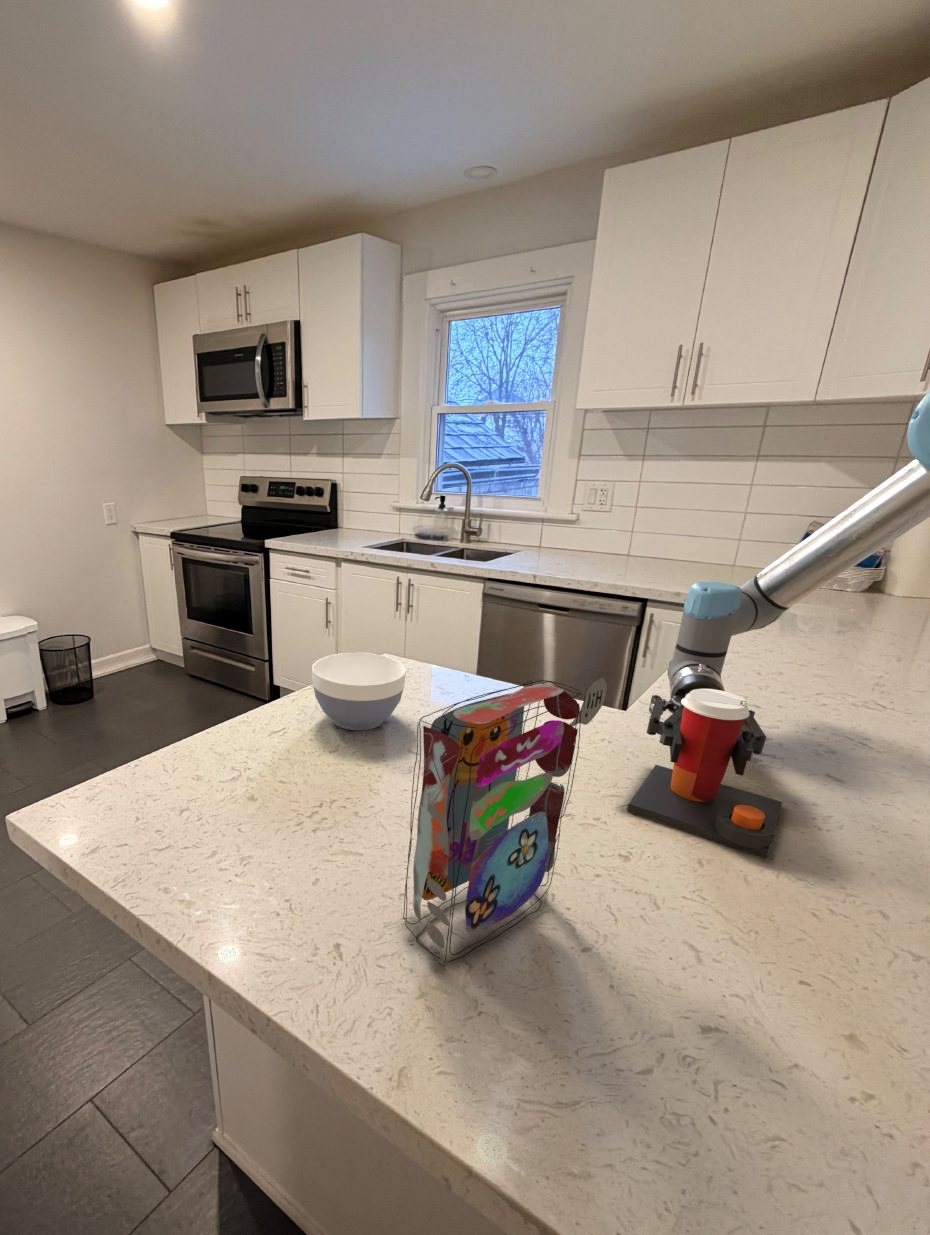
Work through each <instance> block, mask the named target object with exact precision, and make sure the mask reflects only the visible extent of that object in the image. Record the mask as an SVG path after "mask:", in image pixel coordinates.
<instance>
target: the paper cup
mask: <svg viewBox="0 0 930 1235" xmlns="http://www.w3.org/2000/svg"><path fill="white" fill-rule="evenodd" d="M681 703H682V704H683V705H684V710H683V715H682V721H681V727H680V731H681V741H682V746H681V750H680V754H679V758H678V762H677V763H674V762H673V767H672V769H673V772H672V779H671V789H672V790H673V791H674V792H675V793H676V794H677V795H679V796H681V797H683V798H686V799H689V800H693V801H698V802H708V801H712V800H714V799H715V797H716V795H717V793H718V790H719V788H720V785H721V784H722V782H723V780H724V777H725V775H726V772H727V768H728V766H729V764H730V761H731V759H732V757H731V756H732V753H733V750H734V747H735V745H736V742H737V739H738V736H739V734H740V731H741V728H742V726H743V723H744V720H745V718H747V717H748V716H749V715H750V713H749V710H750V709H749V708H748V707H749V706H748V702H747V700H746V699H745V698H743V697H741V696H739V695H737V694H735V693H733V692H730V691H729V692H728V691H726V690H725V691H721V690H715V689H696V690H692V691H690V693H688V694H686V696H685V698H683V699H682V700H681Z"/></svg>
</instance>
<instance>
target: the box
mask: <svg viewBox="0 0 930 1235" xmlns="http://www.w3.org/2000/svg"><path fill="white" fill-rule="evenodd" d="M540 682H542V683H540ZM535 683H536V684H535ZM546 683H550V684H553V685H555V686H553V685H550V684H546ZM526 685H529V686H526ZM561 685H562V686H561ZM522 686H523V687H522ZM563 686H565V687H567V688H565V687H563ZM520 687H522V688H520ZM516 688H520V689H519V690H516V691H514V692H511V693H505V694H502V695H498V696H494V697H490V698H486V699H482V698H485V697H488V696H490V695H492V694H497V693H501V692H504V691H508V690H511V689H512V690H513V689H516ZM568 688H570V689H572V690H570V689H568ZM607 688H608V686H607V681H606V680H605V678H604V677H601V678H598V679H596V680H595V681H594V682H592V684H591V685H590V687H589V688H588V690H587V691H586V694H584V699H583V702H582V705H581V706H580V703H578V701H577V700H576V699H575V698H577V697H578V696H579V695H580V696H583V694H582V690H580V689H578V688H575V687H572V686H569V685H567V684H564V683H561V682H556V681H552V680H547V679H546V680H545V679H541V680H536V681H533V680H532V679H531V680H528V681H527V682H525V683H522V684H520V685H517V686H512V687H508V688H504V689H500V690H495V691H491V692H487V693H483V694H480V695H476V696H472V697H470V698H467V699H465V700H462V701H458V702H456V703H454V704H451V705H448V706H446V707H445V708H444V707H443V708H442V709H441V708H440V709H439V710H436V711H433V712H430V713H429V714H427V715H423V716H422V717H420V718H419V719H417V720H418V724H417V727H416V730H417V731H416V754H415V762H414V767H413V775H412V785H411V786H412V787H411V798H410V800H411V802H410V819H411V820H410V824H409V825H410V828H409V830H410V839H409V845H408V856H407V868H406V876H405V877H406V878H405V886H404V896H405V897H404V900H403V913H402V914H403V916H402V919H403V920H404V921H405V922H404V923H405V924H404V925H405V926H404V927H406V928H407V929H408V931H409V932H410V933H411V934H412V935H413V936H414V938H415V941H416V942H417V943H418V944H419V945H420V946H421V947H422V948H424V949H425V950H426V951H427V952H429V953H430V955H431V956H432V957H433V959H434V961H436V962H437V963H438V965H440V966H441V967H442V968H445V967H446V962H448V963H450V962H454V961H456V960H458V959H461V958H463V957H465V956H467V955H468V954H470V953H471V952H473V950H475V949H477V948H478V947H480V946H482V945H485V944H487V943H489V942H491V941H493V940H495V939H497V938H498V937H499V936H501V935H502V934H503V933H504V932H506V931H507V930H509V929H511V928H514V927H515V926H516V925H518V924H519V923H521V922H522V921H523V920H524V919H526V918H527V917H529V915H532V914H534V913H536V912H538V911H539V909H540V908H541V906H542V901H541V900H542V898H543V897H544V896H545V894H546V893H547V892H548V890H549V889H550V886H551V884H552V882H553V876H554V872H555V871H554V870H555V865H556V861H557V857H558V851H559V843H560V837H561V835H560V834H561V826H562V825H561V824H562V818H563V817H564V815H565V812H566V809H567V806H568V803H569V800H570V796H571V794H572V789H573V784H574V783H573V782H574V779H575V778H574V777H575V772H576V766H577V762H578V756H579V751H580V750H579V749H580V740H581V739H580V738H581V724H582V725H585V726H586V725H588V724H590V723H591V722H592V721H593V719H594V718H595V717H596V716H597V714H598V713H599V711H600V710H601V708H602V706H603V704H604V702H605V700H606V696H607V690H608V689H607ZM565 690H566V691H568V692H570V693H573V694H576V695H574V696H571V694H569V693H568V692H566V691H565ZM573 690H575V691H576V692H575V691H573ZM477 699H478V701H474V700H477ZM479 699H482V700H479ZM471 701H473V702H471ZM541 701H543V705H540V703H541ZM465 702H470V703H467V704H465V705H462V706H459V707H456V706H458V705H459V704H463V703H465ZM537 702H538V703H537ZM535 703H537V704H538V706H536V707H531V705H532V704H535ZM525 706H528V708H527V709H526V710H525ZM455 707H456V708H455ZM544 707H545V709H546V711H544V712H541V713H539V708H544ZM453 708H454V709H453ZM446 709H447V710H446ZM451 709H452V710H451ZM535 709H536V710H537V711H536V715H534V716H532V717H530V718H528V715H529V711H531V710H535ZM444 710H446V711H444ZM441 711H444V712H443V713H442V715H439V716H438V717H437V718H435V719H434V720H433V722H432V723H430V722H427V721H424V720H422V719H423V718H425V717H429V716H431V715H433V714H435V713H439V712H441ZM525 713H526V715H525ZM546 713H549V714H550V715H552V716H553V717H555V718H558V719H560V720H555V719H554V720H553V719H552V720H548V721H546V722H545V721H544V723H543V724H541V725H540V726H536V725H537V720H538V717H539V716H542V715H543V714H546ZM524 715H525V719H524ZM534 718H535V721H534V722H535V723H534V727H533V728H532V729H530V730H527V731H525V725H526V722H528V721H530V720H531V719H534ZM562 720H568V721H569V720H572V722H570V723H567V722H565V721H562ZM421 722H423V723H424V724H427V725H429V726H430V727H428V726H427V725H422V728H421ZM577 725H579V726H578V727H577ZM421 729H423V730H421ZM422 732H423V736H422ZM577 736H578V744H577ZM422 737H423V774H422V785H421V786H422V788H421V792H420V794H421V795H420V800H419V807H418V812H417V813H418V814H417V829H416V830H417V833H416V844H415V850H414V856H413V870H412V871H413V897H412V908H413V912H414V916H416V918H417V919H418V921H416V922H415V923H413V922H409V921H408V920H407V918H408V874H409V864H410V858H411V850H412V842H413V841H412V838H413V837H412V834H413V826H414V817H415V816H414V815H415V808H416V803H417V796H418V789H419V781H420V780H419V779H420V770H421V760H422V744H421V743H422V742H421V740H422V739H421V738H422ZM576 745H577V751H576V757H575V763H574V769H573V775H572V778H571V784H570V777H571V771H572V766H573V760H574V755H575V748H576ZM418 750H419V751H418ZM418 752H419V764H418V774H417V783H416V792H415V797H414V785H415V784H414V783H415V771H416V767H417V762H418ZM533 761H535V763H536V764H537V766H538V767H539V768H540V769H541V770H542V771H543V772H542V773H540V774H537V775H534V776H532V777H529V778H528V774H529V770H530V766H531V762H533ZM526 764H528V768H527V772H526V775H525V776H526V777H525V779H524V780H523V779H522V780H521V779H520V780H519V775H520V769H521V767H523V766H524V765H526ZM568 771H569V773H568ZM567 773H568V780H567V786H566V792H565V786H564V785H563V784H560V783H559V784H557V783H555V782H553V777H555V778H560V777H564V776H565V775H566V774H567ZM569 784H570V790H569ZM568 790H569V791H570V792H569V794H568ZM567 795H568V798H567ZM413 797H414V798H415V799H414V798H413ZM566 798H567V800H566ZM413 799H414V805H413ZM528 809H529V814H527V815H525V816H524V819H523V820H520V821H519V822H517V823H516V824H514V825H513V822H514V815H516V814H519V813H523V812H524V811H526V810H528ZM510 817H511V818H512V819H511V825H510V828H509V824H510ZM557 833H558V834H557ZM556 843H557V845H556ZM555 850H556V851H555ZM551 870H552V873H551V878H549V874H550V871H551ZM546 873H547V881H546V883H544V884H543V885H541V884H542V882H543V880H544V876H545V875H546ZM549 879H550V882H549ZM466 883H468V886H466V887H464V888H462V889H461V890H460V891H459V892H457V888H458V887H460V886H461V885H464V884H466ZM548 883H549V885H548V887H547V889H546V890H545V892H544V893H543V894H542V895H541V896H540V898H539V896H537V895H536V893H537V891H538V890H539V887H544V886H546V885H547V884H548ZM466 889H467V891H466V892H467V893H466V899H465V900H463V901H460V902H456V897H457V896H458V895H460V894H461V893H462V892H463V891H464V890H466ZM450 891H452V892H451V898H450V899H448V900H447V894H446V893H448V892H450ZM533 896H535V897H536V899H537V900H536V901H535V902H533V904H532V905H530V906H529V907H528V908H526V909H525V910H524V911H523V912H522V913H520V914H519V915H518V916H516V917H514V918H513V919H511V920H509V921H508V922H506V923H505V924H503V925H500V926H499V927H498V928H496V929H495V930H493V931H491V932H490V933H489V934H487V935H486V936H484V937H483V938H481V939H480V940H478V941H476V942H473V943H472V944H470V945H468V946H466V947H465V948H463V949H462V950H460V951H458V952H456V953H452V952H451V943H452V932H453V920H454V911H455V906H457V905H459V904H461V903H462V904H463V903H464V902H465V909H464V910H465V911H464V912H465V913H464V914H465V915H464V916H465V932H466V933H467V935H472V934H476V933H479V932H482V931H486V930H488V929H490V928H492V927H494V926H495V925H497V924H499V923H500V922H502V921H504V920H506V919H507V918H509V917H511V916H513V915H514V913H516V912H517V911H518V910H519V909H520V908H521V907H523V906H524V905H525V904H526V903H527V902H528V901H530V900H531V898H532V897H533ZM436 898H438V899H439V900H441V901H442V903H441V904H440V905H439V906H437V905H436V904H434V903H432V902H431V901H430V900H433V899H436ZM422 900H424V901H427V902H426V903H427V904H426V905H427V908H428V911H429V912H430V913H429V914H426V915H425V916H423V917H421V913H422V912H421V911H422V910H421V904H422ZM448 902H450V905H449V906H448V907H446V908H444V909H443V910H442V909H441V908H440V907H441V906H443V905H444V904H445V903H448ZM538 902H539V903H540V904H539V905H538V908H537V909H536V910H534V911H532V912H530V913H527V914H526V915H525V916H524V917H522V918H521V919H520V920H518V922H516V923H515V924H513V925H511V926H509V927H508V928H506V929H504V930H503V931H502V932H500V933H499V934H498V935H496V936H495V937H492V938H491V939H489V940H487V941H484V942H482V941H483V940H485V939H487V938H488V937H489V936H491V935H492V934H493V933H495V932H496V931H498V930H499V929H501V928H503V927H504V926H507V925H508V924H510V923H511V922H513V921H515V920H516V919H518V918H519V917H521V916H522V915H523V914H525V913H526V912H528V910H529V909H531V908H532V907H533V906H535V905H536V903H538ZM449 908H450V909H449ZM448 909H449V910H450V911H449V919H448V917H447V915H446V913H445V912H444V911H446V910H448ZM430 915H433V916H434V919H432V920H431V921H429V920H428V921H427V922H426V925H425V927H424V928H423V929H422V930H421V931H420V932H419V933H418V934H417V935H415V934H414V933H413V931H412V930H411V929H410V928H409V927H408V926H407V923H408V924H410V925H416V924H418V923H419V922H421V921H422V920H423V919H425V918H426V917H428V916H430ZM436 919H438V920H439V921H440V922H441V923H442V924H443V925H444V926H447V927H448V928H447V937H446V938H447V939H446V940H445V937H444V934H443V933H442V931H441V930H440V929H439V928H438V927H437V926H435V925H434V924H433V922H434V921H435V920H436ZM424 930H426V933H427V935H428V936H429V938H430V939H431V941H432V942H433V943H434V944H435V945H436V946H437V947H438V948H440V949H444V948H445V956H444V957H445V958H444V960H442V959H441V958H440V957H439V956H437V955H436V954H435V953H433V951H431V950H429V948H428V947H427V946H426V945H425V944H424V943H423V942H422V941H421V940H420V939H419V938H418V937H419V935H420V934H422V932H423V931H424ZM449 935H450V936H449ZM445 941H446V942H445ZM480 942H482V943H480ZM448 943H449V946H448ZM478 943H480V944H478ZM476 944H478V945H476ZM474 945H476V946H475V947H473V948H471V950H469V951H468V952H467V953H465V954H463V955H461V956H459V957H456V958H453V959H451V960H447V952H448V950H449V953H450V955H451V956H457V955H458V954H459V955H460V954H461V953H462V952H464V951H465V950H466V949H468V948H470V947H472V946H474ZM445 946H446V947H445ZM448 947H449V948H448ZM438 960H440V962H441V961H442V962H443V964H441V963H440V962H439V961H438ZM446 960H447V961H446Z"/></svg>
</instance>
